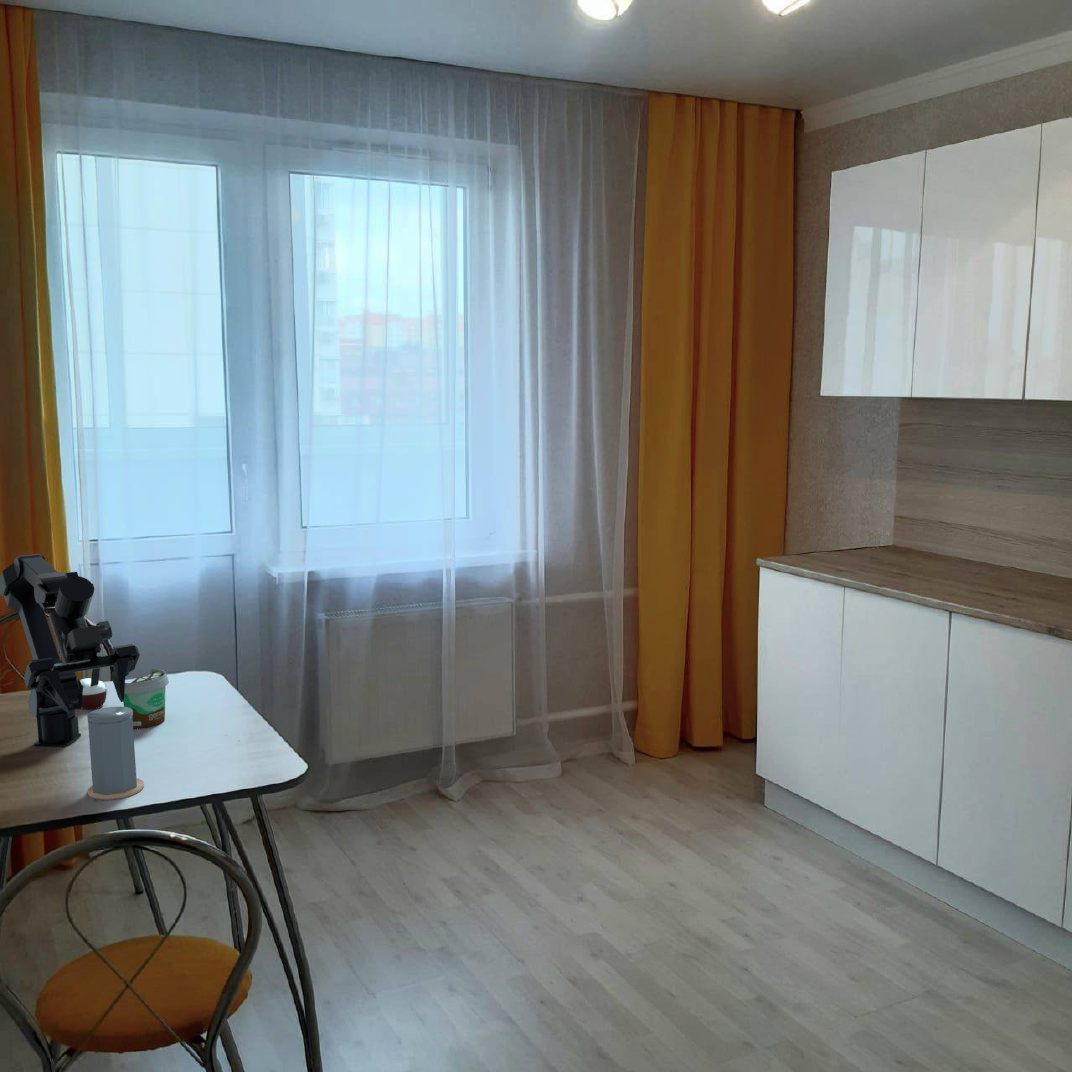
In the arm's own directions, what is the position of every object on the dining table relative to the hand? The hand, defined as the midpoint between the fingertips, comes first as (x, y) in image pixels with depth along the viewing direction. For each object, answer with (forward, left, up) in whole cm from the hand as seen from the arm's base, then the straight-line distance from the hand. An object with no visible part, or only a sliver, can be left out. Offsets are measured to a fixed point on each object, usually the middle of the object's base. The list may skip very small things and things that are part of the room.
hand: (96, 706), depth 188 cm
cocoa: (-22, +41, -13) cm, 48 cm away
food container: (-4, +31, -13) cm, 34 cm away
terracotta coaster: (+5, -5, -13) cm, 15 cm away
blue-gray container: (+5, -5, -13) cm, 15 cm away
